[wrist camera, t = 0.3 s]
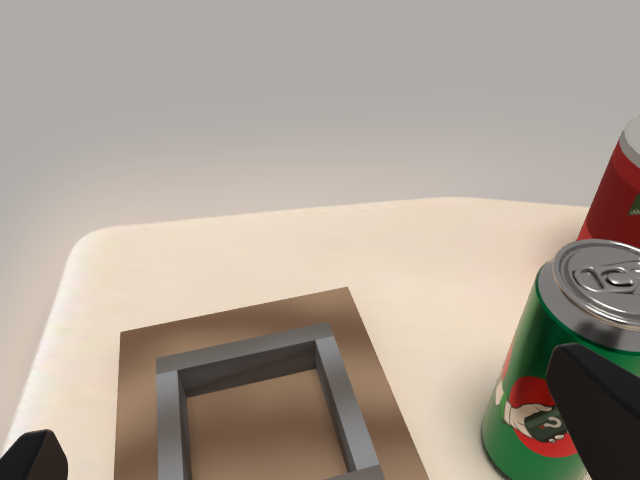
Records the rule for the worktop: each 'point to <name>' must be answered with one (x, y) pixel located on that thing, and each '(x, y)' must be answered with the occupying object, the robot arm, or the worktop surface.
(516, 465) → the soda can
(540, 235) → the worktop surface
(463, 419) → the worktop surface
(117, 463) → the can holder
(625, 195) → the canned food
